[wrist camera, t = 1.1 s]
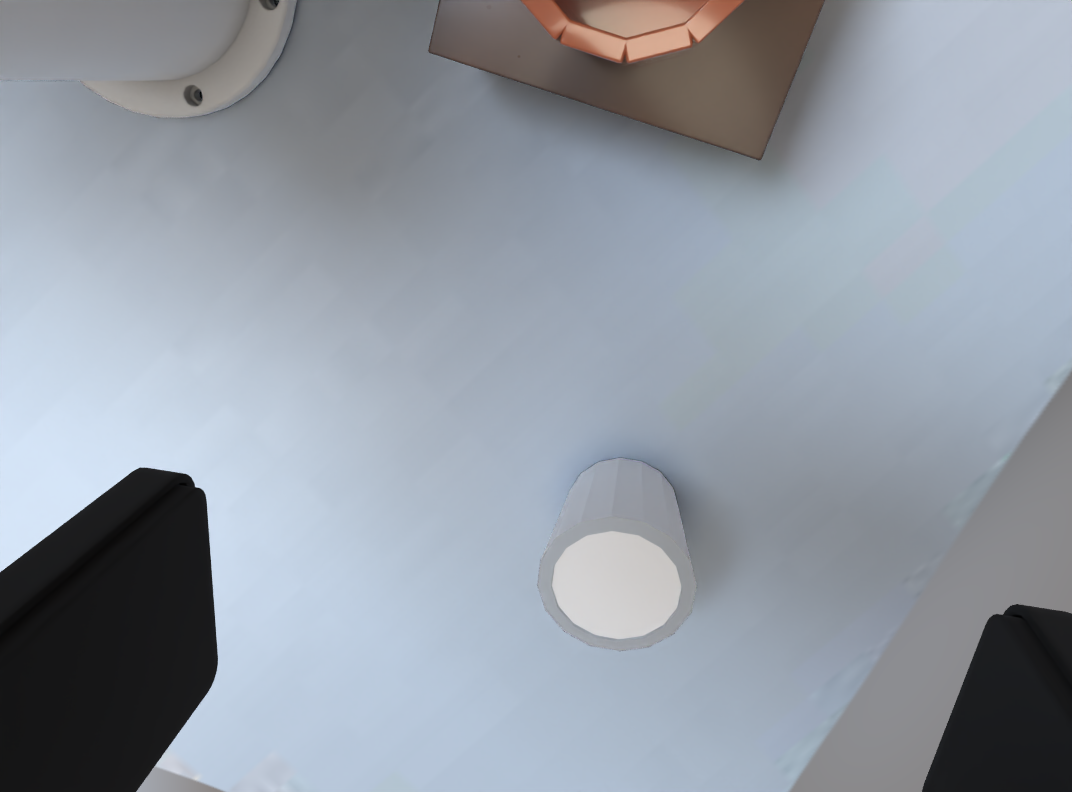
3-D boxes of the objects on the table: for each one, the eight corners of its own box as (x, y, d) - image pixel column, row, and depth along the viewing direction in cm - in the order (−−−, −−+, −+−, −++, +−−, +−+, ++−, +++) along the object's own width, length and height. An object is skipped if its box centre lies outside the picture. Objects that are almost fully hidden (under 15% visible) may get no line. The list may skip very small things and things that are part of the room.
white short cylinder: (656, 426, 39) (655, 494, 32) (712, 538, 40) (722, 625, 34) (532, 476, 41) (508, 550, 34) (591, 581, 42) (579, 671, 36)
